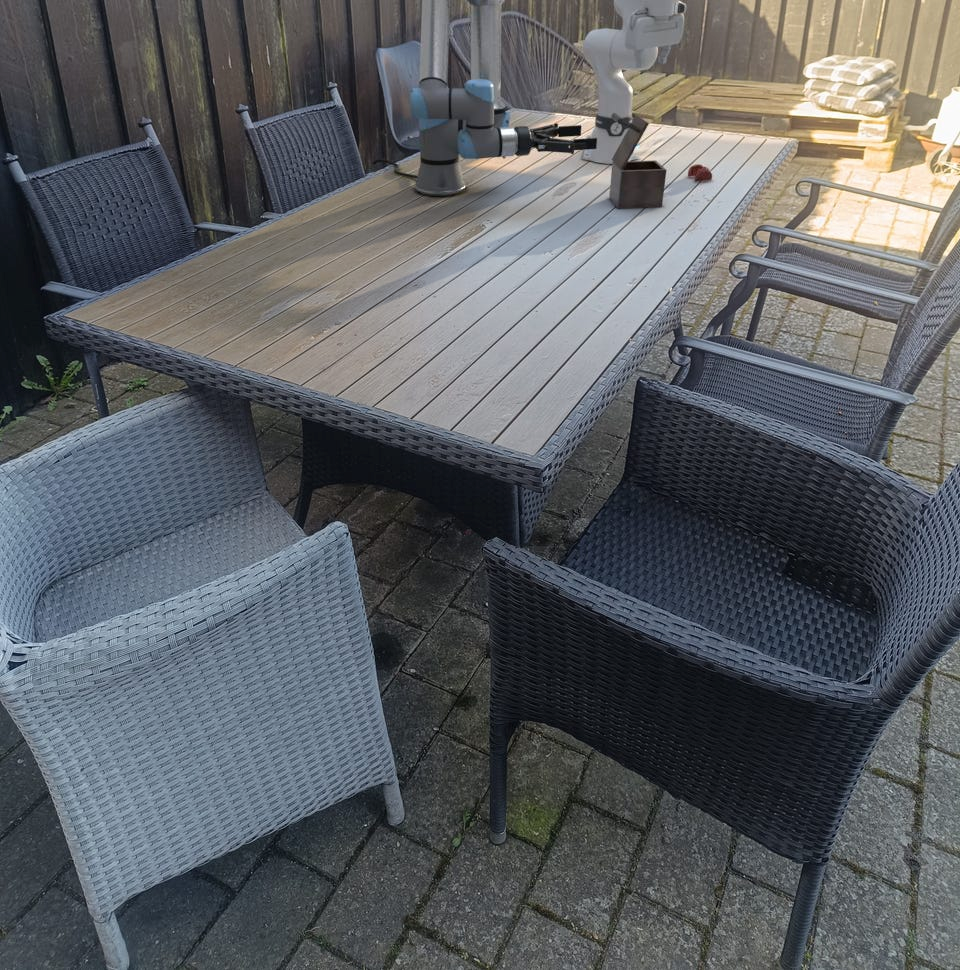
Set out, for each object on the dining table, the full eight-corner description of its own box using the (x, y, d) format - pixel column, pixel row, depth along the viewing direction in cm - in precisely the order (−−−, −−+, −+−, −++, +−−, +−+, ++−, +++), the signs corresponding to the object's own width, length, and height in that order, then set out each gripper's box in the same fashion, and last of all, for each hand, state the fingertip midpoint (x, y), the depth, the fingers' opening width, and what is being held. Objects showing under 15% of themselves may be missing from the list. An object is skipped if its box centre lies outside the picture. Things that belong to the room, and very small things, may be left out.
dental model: (703, 160, 269) (714, 167, 263) (701, 174, 271) (713, 181, 265) (687, 162, 268) (698, 169, 262) (685, 176, 270) (696, 183, 264)
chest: (651, 196, 253) (656, 160, 247) (661, 206, 245) (666, 169, 239) (609, 198, 252) (612, 161, 246) (617, 208, 244) (621, 171, 237)
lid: (638, 115, 239) (615, 102, 236) (649, 123, 231) (625, 110, 228) (613, 160, 245) (591, 149, 243) (622, 170, 237) (599, 158, 235)
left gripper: (503, 143, 242) (573, 139, 246) (525, 168, 223) (602, 163, 227) (503, 115, 238) (575, 111, 242) (526, 139, 218) (604, 134, 222)
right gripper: (641, 11, 211) (635, 71, 220) (690, 5, 223) (683, 62, 231) (622, 9, 215) (616, 68, 223) (671, 3, 226) (664, 59, 234)
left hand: (588, 136), depth 234 cm, fingers open, 13 cm apart
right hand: (651, 65), depth 227 cm, fingers open, 8 cm apart
